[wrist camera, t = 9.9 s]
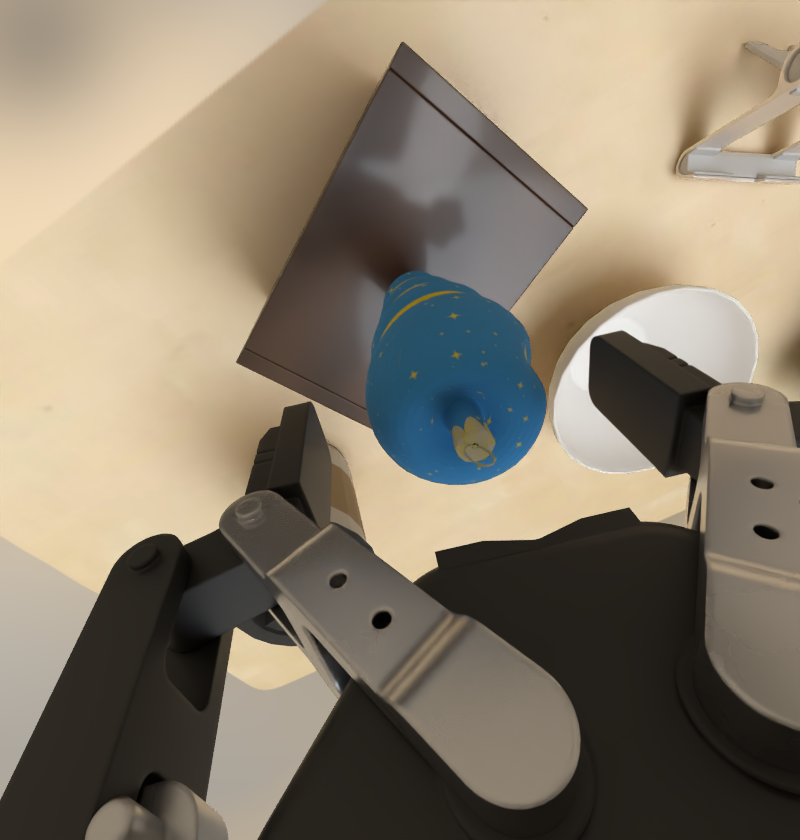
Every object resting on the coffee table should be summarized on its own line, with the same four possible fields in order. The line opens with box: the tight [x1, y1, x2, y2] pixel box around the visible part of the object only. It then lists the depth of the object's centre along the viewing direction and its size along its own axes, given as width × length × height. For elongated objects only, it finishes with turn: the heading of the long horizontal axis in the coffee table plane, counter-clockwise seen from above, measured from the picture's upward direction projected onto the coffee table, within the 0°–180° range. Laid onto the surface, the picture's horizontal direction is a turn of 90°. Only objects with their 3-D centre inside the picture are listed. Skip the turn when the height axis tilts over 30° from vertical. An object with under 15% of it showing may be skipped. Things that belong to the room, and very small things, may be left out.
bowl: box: [548, 285, 758, 474], centre depth 37 cm, size 16×16×7 cm
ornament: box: [365, 271, 547, 485], centre depth 16 cm, size 5×5×15 cm
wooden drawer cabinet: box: [236, 42, 587, 429], centre depth 27 cm, size 11×16×12 cm
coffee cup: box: [237, 444, 374, 646], centre depth 36 cm, size 11×11×15 cm
